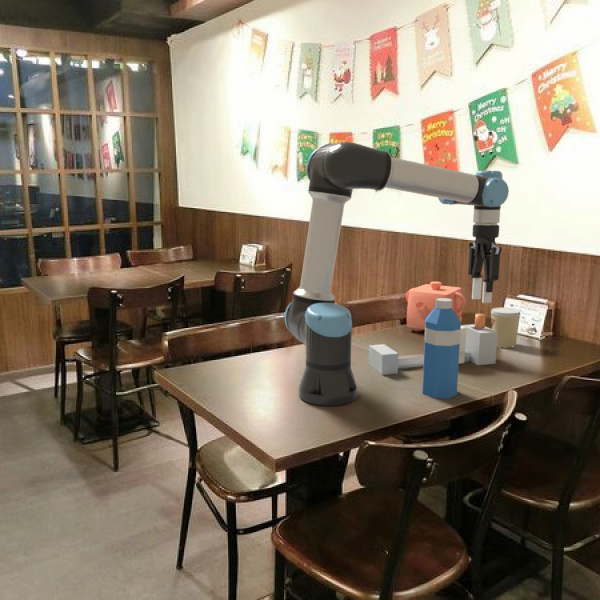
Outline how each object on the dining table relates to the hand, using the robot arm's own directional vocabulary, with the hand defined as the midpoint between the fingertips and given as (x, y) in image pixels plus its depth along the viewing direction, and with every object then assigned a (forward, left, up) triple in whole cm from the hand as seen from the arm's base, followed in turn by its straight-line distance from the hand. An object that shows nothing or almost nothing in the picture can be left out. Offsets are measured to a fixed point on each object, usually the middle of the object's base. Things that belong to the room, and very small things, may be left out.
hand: (481, 300), depth 180 cm
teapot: (+2, +35, -19) cm, 40 cm away
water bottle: (-26, -22, -19) cm, 39 cm away
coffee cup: (+17, +12, -19) cm, 28 cm away
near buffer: (-32, 0, -19) cm, 37 cm away
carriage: (-11, 0, -19) cm, 21 cm away
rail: (-17, 0, -19) cm, 25 cm away
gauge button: (0, 0, -8) cm, 8 cm away
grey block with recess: (0, 0, -19) cm, 19 cm away
